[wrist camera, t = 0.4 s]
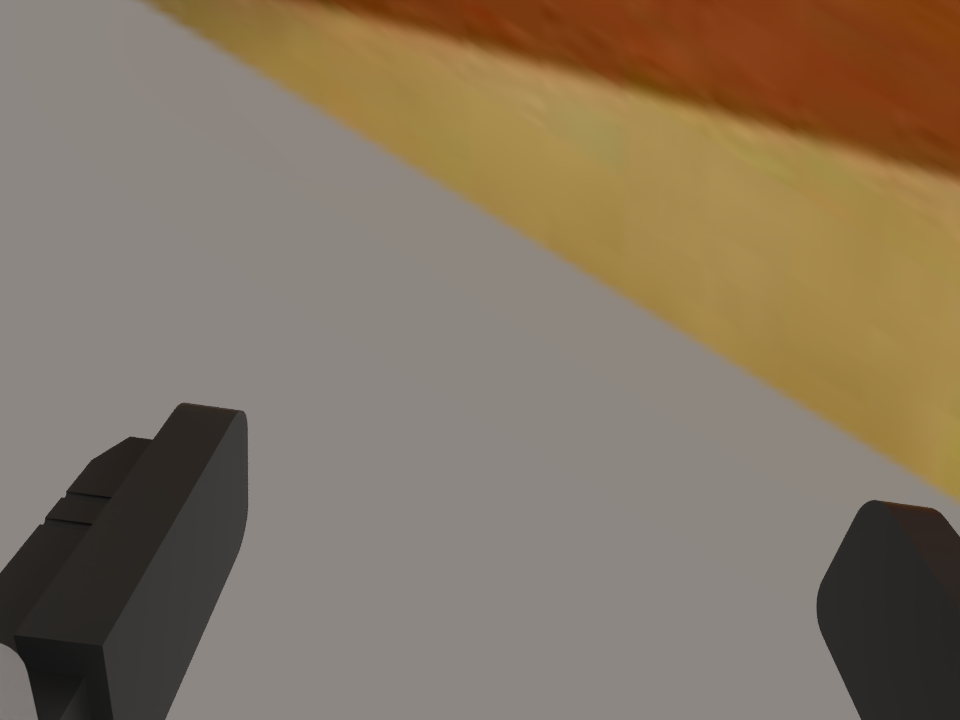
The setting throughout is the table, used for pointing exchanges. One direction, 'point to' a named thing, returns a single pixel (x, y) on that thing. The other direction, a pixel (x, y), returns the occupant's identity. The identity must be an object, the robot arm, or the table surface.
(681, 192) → the table surface
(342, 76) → the table surface
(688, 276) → the table surface
